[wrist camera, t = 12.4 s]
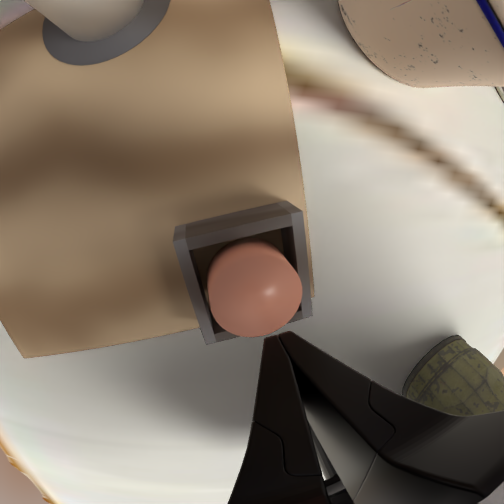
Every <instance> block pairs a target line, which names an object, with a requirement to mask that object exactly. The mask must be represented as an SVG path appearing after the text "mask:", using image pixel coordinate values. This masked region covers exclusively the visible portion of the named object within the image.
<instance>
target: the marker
mask: <svg viewBox="0 0 504 504" xmlns="http://www.w3.org/2000/svg"><path fill="white" fill-rule="evenodd" d="M24 1H25V2H27V3H28V4H29V5H31V6H32V7H33V8H35V9H36V10H37V11H38V12H40V13H41V14H42V15H44V16H45V17H46V18H47V19H49V20H50V21H51V22H53V23H54V24H55V25H56V26H58V27H59V28H60V29H61V30H63V31H64V32H65V33H66V34H68V35H69V36H70V37H71V38H73V39H75V40H78V41H83V42H91V41H98V40H101V39H104V38H107V37H109V36H111V35H113V34H115V33H117V32H119V31H120V30H122V29H123V28H124V27H126V26H127V25H128V24H129V23H130V22H131V21H132V20H133V19H134V18H135V17H136V16H137V14H138V13H139V11H140V9H141V7H142V5H143V2H144V0H24Z"/></svg>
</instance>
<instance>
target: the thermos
mask: <svg viewBox="0 0 504 504" xmlns="http://www.w3.org/2000/svg"><path fill="white" fill-rule="evenodd" d="M403 396H404V397H406V398H408V399H411V400H413V401H416V402H418V403H421V404H423V405H426V406H429V407H431V408H434V409H437V410H439V411H442V412H445V413H448V414H452V415H457V416H473V415H480V414H486V413H492V412H498V411H503V410H504V377H503V374H502V372H501V371H499V369H497V368H496V367H495V366H494V365H493V364H492V363H491V362H490V361H489V360H488V359H487V358H486V357H485V356H484V355H483V354H482V353H481V352H479V351H478V350H477V349H475V348H472V347H471V346H469V345H468V344H467V343H466V341H465V340H464V339H463V338H462V337H460V336H459V335H457V336H451V337H449V338H447V339H445V340H443V341H442V342H441V343H439V344H438V345H437V346H435V347H434V348H433V349H432V350H431V351H430V352H429V353H428V354H427V355H426V356H425V357H424V358H423V359H422V360H421V361H420V362H419V363H418V365H417V366H416V367H415V368H414V369H413V371H412V372H411V374H410V376H409V377H408V379H407V380H406V383H405V385H404V387H403Z"/></svg>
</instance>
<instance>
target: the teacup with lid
mask: <svg viewBox="0 0 504 504" xmlns="http://www.w3.org/2000/svg"><path fill="white" fill-rule="evenodd" d="M338 2H339V7H340V11H341V14H342V17H343V20H344V22H345V24H346V26H347V28H348V30H349V32H350V34H351V35H352V37H353V39H354V40H355V42H356V43H357V45H358V46H359V47H360V49H361V50H362V51H363V52H364V53H365V55H366V56H367V57H368V58H369V59H370V60H371V61H372V62H373V63H374V64H375V65H376V66H377V67H378V68H380V69H381V70H382V71H383V72H384V73H386V74H387V75H389V76H390V77H392V78H393V79H395V80H397V81H399V82H401V83H403V84H406V85H408V86H412V87H417V88H431V87H450V86H496V87H504V0H338Z"/></svg>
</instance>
